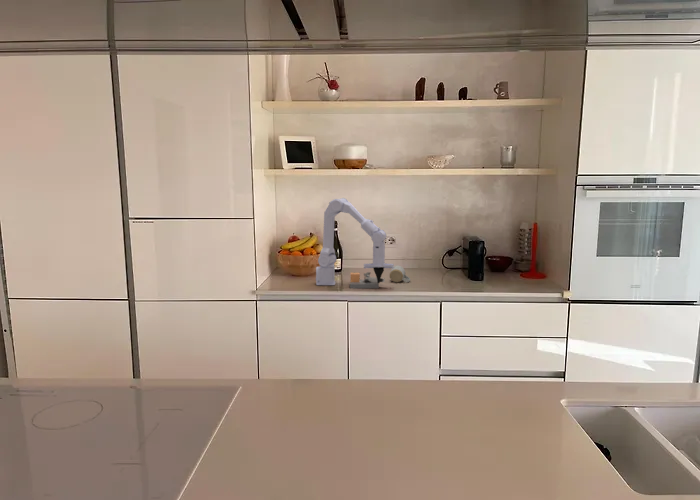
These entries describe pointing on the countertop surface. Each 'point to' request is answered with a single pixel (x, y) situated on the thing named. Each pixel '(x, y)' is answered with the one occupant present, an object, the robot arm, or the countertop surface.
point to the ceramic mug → (398, 274)
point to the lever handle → (371, 278)
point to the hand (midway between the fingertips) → (378, 282)
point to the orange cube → (355, 277)
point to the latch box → (364, 284)
